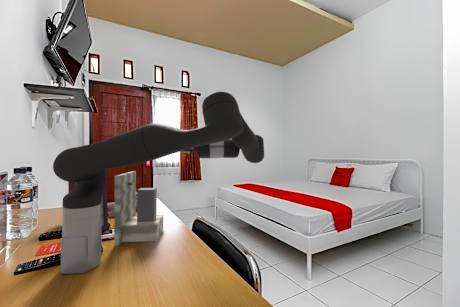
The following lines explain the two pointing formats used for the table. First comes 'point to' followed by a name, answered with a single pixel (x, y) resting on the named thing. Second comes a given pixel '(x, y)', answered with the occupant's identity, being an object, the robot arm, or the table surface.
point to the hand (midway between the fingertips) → (166, 147)
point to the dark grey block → (146, 204)
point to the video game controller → (111, 209)
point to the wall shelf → (131, 214)
